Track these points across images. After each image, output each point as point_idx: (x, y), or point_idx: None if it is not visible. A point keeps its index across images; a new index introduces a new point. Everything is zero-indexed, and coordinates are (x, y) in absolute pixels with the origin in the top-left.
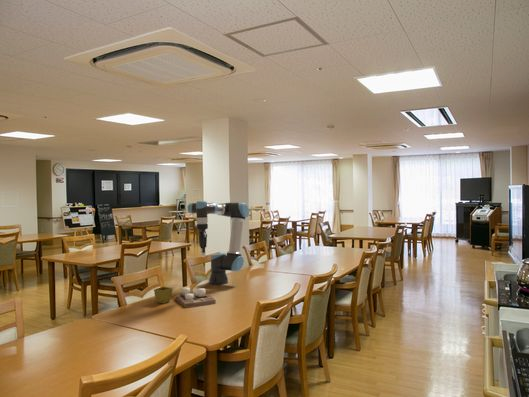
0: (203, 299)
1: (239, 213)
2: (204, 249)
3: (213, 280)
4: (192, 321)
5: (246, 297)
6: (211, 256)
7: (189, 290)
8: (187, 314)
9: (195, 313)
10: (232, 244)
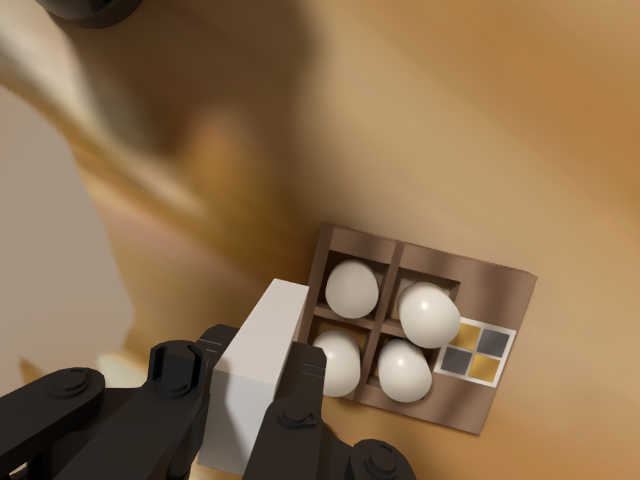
0: (483, 326)
1: None
2: (319, 404)
3: (96, 2)
4: None
5: (568, 45)
6: None
7: (356, 355)
8: (579, 468)
9: (597, 437)
10: None
